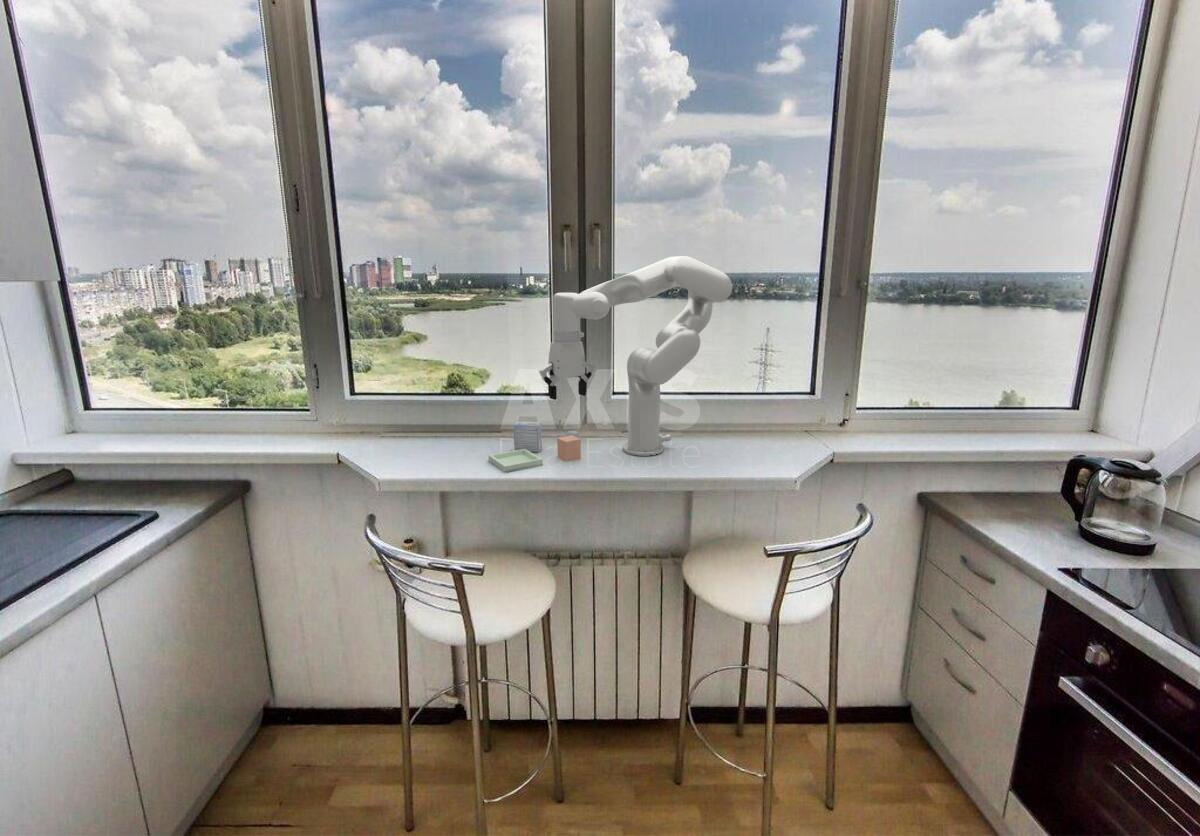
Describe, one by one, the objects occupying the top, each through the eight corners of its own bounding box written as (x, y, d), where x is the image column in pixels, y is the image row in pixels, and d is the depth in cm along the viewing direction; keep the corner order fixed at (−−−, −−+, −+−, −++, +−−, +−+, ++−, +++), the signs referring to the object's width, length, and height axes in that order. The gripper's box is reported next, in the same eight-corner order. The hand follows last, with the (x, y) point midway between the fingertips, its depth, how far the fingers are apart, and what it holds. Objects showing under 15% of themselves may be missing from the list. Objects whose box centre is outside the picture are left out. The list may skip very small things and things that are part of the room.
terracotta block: (572, 454, 171) (571, 435, 169) (580, 458, 166) (580, 439, 165) (557, 457, 168) (557, 437, 166) (565, 461, 164) (565, 442, 162)
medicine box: (542, 448, 176) (541, 421, 174) (539, 453, 172) (538, 425, 169) (517, 447, 177) (516, 421, 174) (514, 452, 172) (513, 424, 170)
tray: (524, 454, 170) (524, 448, 170) (542, 465, 161) (542, 459, 160) (488, 461, 164) (488, 455, 163) (505, 472, 154) (504, 466, 154)
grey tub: (575, 444, 180) (575, 429, 178) (581, 448, 176) (581, 432, 175) (564, 446, 177) (564, 431, 176) (570, 450, 174) (570, 434, 173)
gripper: (586, 334, 166) (586, 391, 170) (533, 338, 157) (535, 397, 161) (600, 337, 160) (600, 395, 164) (545, 340, 151) (547, 403, 155)
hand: (567, 396), depth 163 cm, fingers open, 9 cm apart
